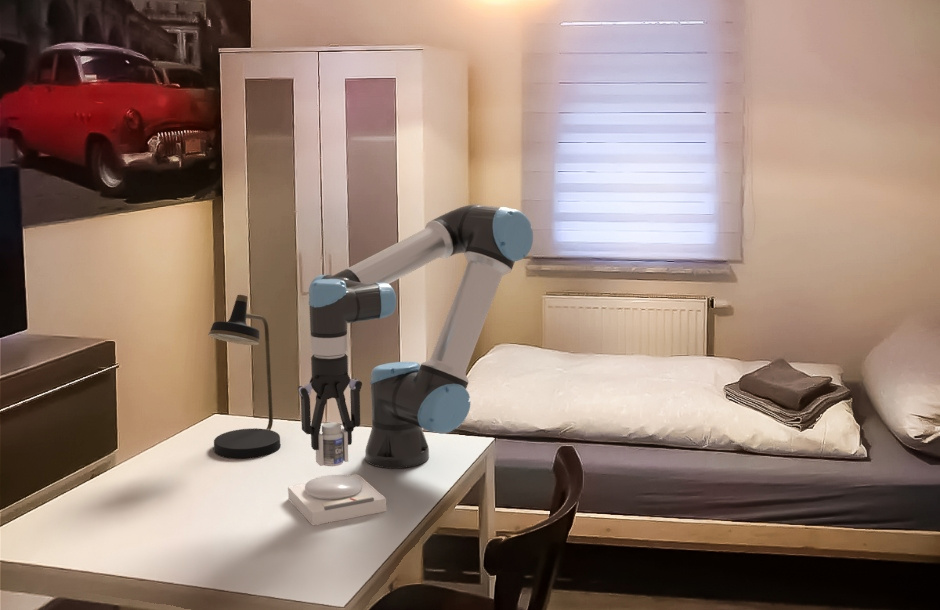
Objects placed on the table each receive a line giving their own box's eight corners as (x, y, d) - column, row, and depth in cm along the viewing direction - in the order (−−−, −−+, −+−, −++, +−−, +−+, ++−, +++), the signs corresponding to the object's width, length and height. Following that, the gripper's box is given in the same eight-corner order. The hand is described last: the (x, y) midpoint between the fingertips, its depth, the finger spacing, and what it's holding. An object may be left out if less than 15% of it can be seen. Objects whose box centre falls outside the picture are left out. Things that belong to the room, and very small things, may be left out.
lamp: (198, 456, 250) (188, 299, 243) (244, 429, 271) (237, 283, 263) (257, 463, 245) (250, 303, 238) (300, 435, 266) (294, 287, 258)
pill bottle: (339, 467, 217) (338, 428, 215) (318, 466, 218) (316, 427, 216) (346, 460, 221) (345, 422, 220) (325, 458, 222) (324, 420, 221)
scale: (358, 486, 231) (357, 469, 230) (386, 511, 217) (385, 492, 216) (288, 499, 224) (287, 481, 223) (312, 525, 210) (312, 506, 209)
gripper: (362, 346, 222) (365, 450, 227) (282, 355, 214) (286, 462, 219) (376, 353, 216) (378, 460, 220) (293, 363, 208) (297, 474, 212)
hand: (332, 461), depth 220 cm, fingers closed on pill bottle, 5 cm apart
